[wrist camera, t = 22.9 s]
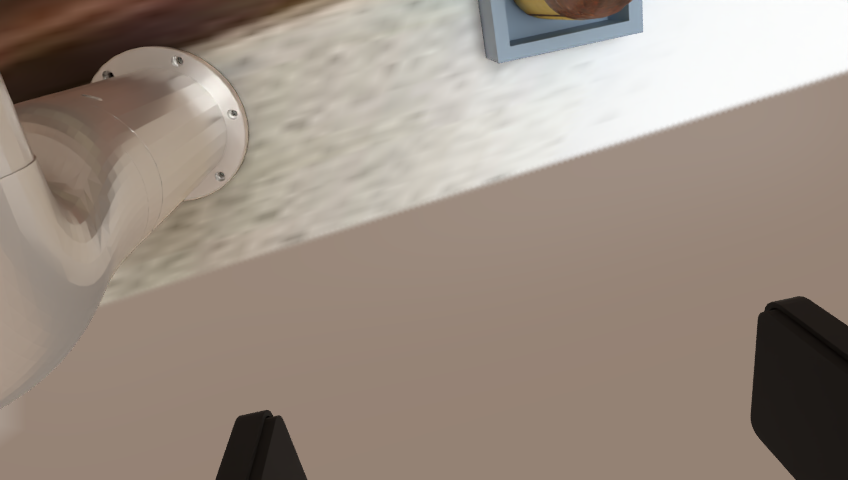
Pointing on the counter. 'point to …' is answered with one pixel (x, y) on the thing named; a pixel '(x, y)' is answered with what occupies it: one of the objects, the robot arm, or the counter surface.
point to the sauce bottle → (571, 8)
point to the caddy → (548, 30)
